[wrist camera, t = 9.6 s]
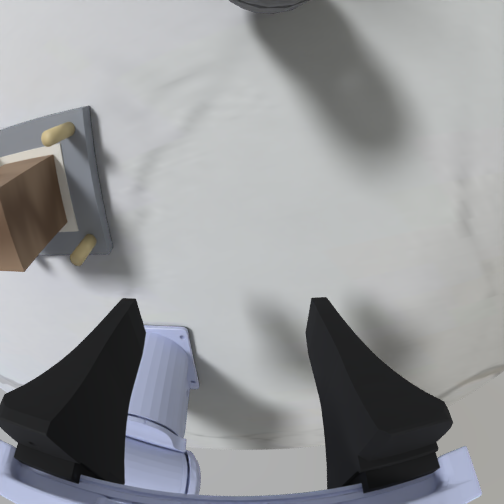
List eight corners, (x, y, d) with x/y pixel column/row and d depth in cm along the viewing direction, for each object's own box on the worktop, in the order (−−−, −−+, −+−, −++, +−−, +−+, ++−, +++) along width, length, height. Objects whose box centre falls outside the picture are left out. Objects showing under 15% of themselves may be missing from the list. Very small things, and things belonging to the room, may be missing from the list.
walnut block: (67, 222, 19) (24, 271, 14) (19, 225, 19) (-25, 269, 14) (53, 154, 16) (-3, 189, 11) (4, 164, 16) (-50, 198, 11)
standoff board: (113, 246, 21) (96, 274, 18) (15, 249, 21) (-5, 272, 18) (89, 105, 16) (61, 114, 13) (-14, 135, 15) (-43, 148, 12)
